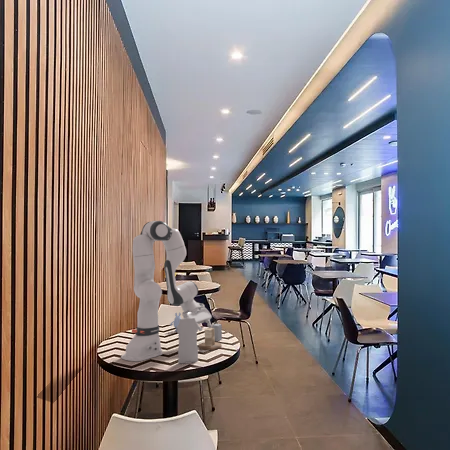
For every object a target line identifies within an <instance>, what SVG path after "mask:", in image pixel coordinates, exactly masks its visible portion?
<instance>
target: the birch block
mask: <svg viewBox="0 0 450 450" xmlns="http://www.w3.org/2000/svg"><path fill="white" fill-rule="evenodd" d="M204 342H205V346H213V345H215V342H216V341H215V332H214V328H212V327H210V328H209V327H207V328H205V329H204Z"/></svg>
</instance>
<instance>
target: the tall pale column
mask: <svg viewBox="0 0 450 450" xmlns="http://www.w3.org/2000/svg"><path fill="white" fill-rule="evenodd" d="M198 325H199V324H197V323H196V320H195V318H189V317H188V318H184V317H183V318H181V319H180V321H179V325H178V326H177V331H176V333H177V336H178V349H177V354H178V358H177V359H178V361H177V362H178V364H181V365H182V364H191V363H196V362H199V357H198V356H199V348H198V344H197V343H198V339H197V338H198V333H197V332H198V331H199V330H198Z"/></svg>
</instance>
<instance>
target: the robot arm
mask: <svg viewBox="0 0 450 450" xmlns="http://www.w3.org/2000/svg"><path fill="white" fill-rule="evenodd" d="M160 241H161V242H162V244H163V246H164V249H165V253H166V259H165V262H164V265H163V266H164V267H163V268H164V274H165V275H164V276H165V283H166V288H167V289H166V291H167V293H166V295H167V296H166V298H167V301H168V303H169V304H170V305H172V306H174V307H179V306H180V307H181V309H182V311H183V312H182V314H181V315H182V317H183V318H188V317H189V318H195V320H196V323H197V324H198V331H199V332H201V331H203V329H204V328H203V327H202V326H200V324H203V323H206V324H207V325H206V326H207V328H212V325H213V324H212V323H211V319H212V318H213V317H212V314H211V313H210V311H209V310H208V309H207V308H206V307H205V304H204V303H200V302H197V301H196V300H195V299H194V298H195V297H197V295H198V293H199V287H198V286H197V284H196V283H195V282H194V281H192V280H189V281H186V282H184V283H182V284H177V280H176V271H177V269H178V267H179V266H180V265H181V264H182V263H183V262H184V261H185V259H186V256H187V248H186V246H185V242H184V240H183V236H182V234H181V232H180V231H179V230H178V229H177V228H174V227H172V228H171V227H170V226H169V225H168V223H166V222H164V221H162V220H152V221H148V222H146V223H145V224H144V225H143V227H142V229H141V232H140V234H138V235H136V236H134V238H133V239H132V257H133V268H134V278H133V291H134V292H133V293H134V294H135V296H136V297H137V298H139V305H138V308H137V309H138V310H137V316H136V317H137V326H136V328H132V329H131V333H132V334H135V335H134V336H133V337H132V338H131V340H130V341H129V342H128V344H126V347H125V353H123V354H122V355H121V356H120V358H121V359H122V360H125V361H129V362H143V361H145V360H149V359H153V358H155V357H159V356H161V355H163V350H162V345H161V338H160V335H159V333H160V325H159V307H160V303H161V302H160V301H161V297H162V295H163V290H162V287H161V286H160V285H159V283H157V282H156V281H155V279H154V278H155V270H156V263H155V254H154V244H155V242H160Z"/></svg>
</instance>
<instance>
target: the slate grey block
mask: <svg viewBox="0 0 450 450" xmlns="http://www.w3.org/2000/svg"><path fill="white" fill-rule="evenodd" d="M211 325H212V327H211V328H214V332H215V342H220V341H222V340H223V335H222V334H223V333H222V331H223V330H222V324H221V323H214V324H211Z"/></svg>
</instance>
